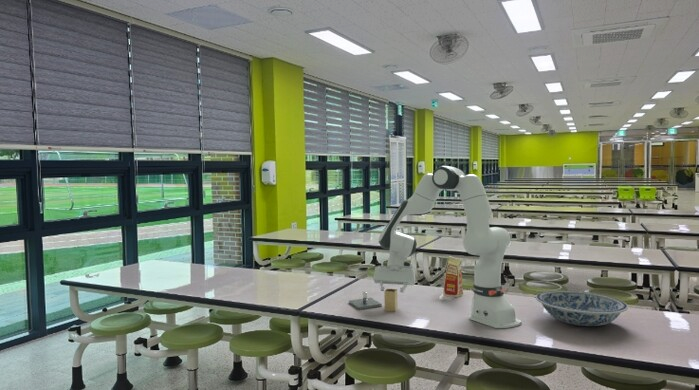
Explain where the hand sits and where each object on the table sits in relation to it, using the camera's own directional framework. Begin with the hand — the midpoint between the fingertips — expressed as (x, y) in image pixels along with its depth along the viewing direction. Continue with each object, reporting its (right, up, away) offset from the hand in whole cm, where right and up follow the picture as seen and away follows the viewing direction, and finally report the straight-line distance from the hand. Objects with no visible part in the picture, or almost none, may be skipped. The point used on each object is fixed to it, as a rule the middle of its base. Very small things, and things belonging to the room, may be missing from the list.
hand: (392, 291), depth 218 cm
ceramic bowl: (+76, -8, -26) cm, 81 cm away
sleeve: (-1, -8, -2) cm, 8 cm away
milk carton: (+34, -6, +21) cm, 41 cm away
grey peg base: (-13, -8, +6) cm, 16 cm away
